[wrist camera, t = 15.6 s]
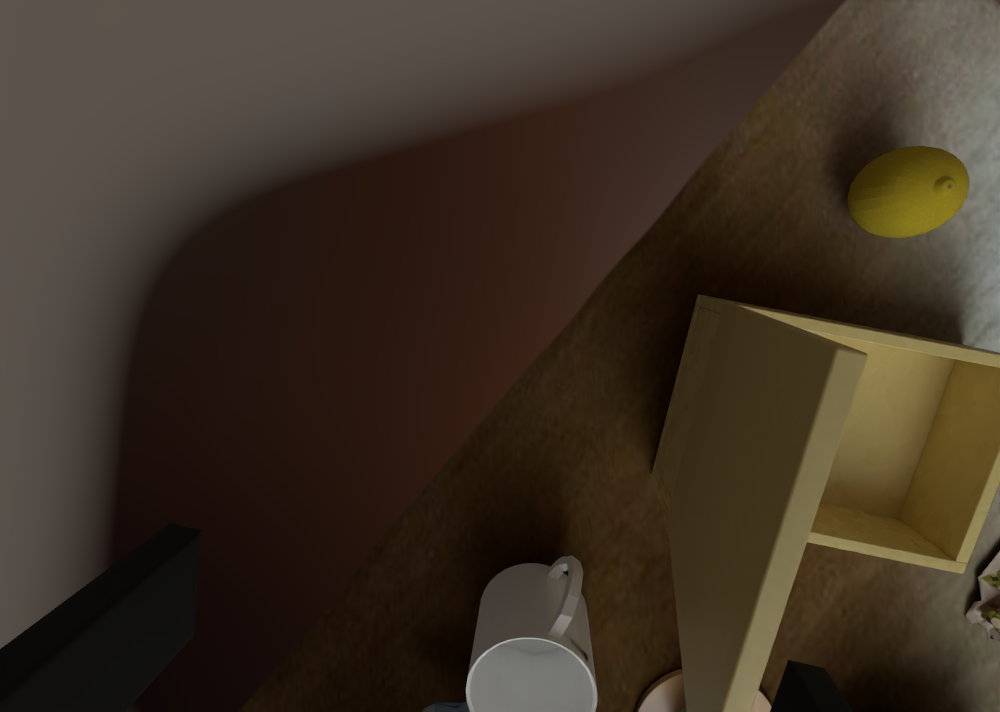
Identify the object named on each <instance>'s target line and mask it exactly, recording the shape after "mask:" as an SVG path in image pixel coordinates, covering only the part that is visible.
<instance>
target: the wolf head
mask: <svg viewBox="0 0 1000 712" xmlns="http://www.w3.org/2000/svg"><path fill="white" fill-rule="evenodd" d="M422 712H470V710H469V707H468V703H467V701H466V702H463V703H436V704H432V705H430V706H428V707H427V708H425V709H424V710H423V711H422Z"/></svg>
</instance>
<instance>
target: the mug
mask: <svg viewBox="0 0 1000 712" xmlns="http://www.w3.org/2000/svg"><path fill="white" fill-rule="evenodd" d="M567 570H568V576H567V575H566V574H564V573H563V572H564V571H567ZM582 580H583V569H582V566H581V562H580V561H578V560H577V559H576V558H575V557H573V556H572V555H571V556H568V557H565V556H562V557H561V558H559V559H558V560H557V561H555V562H554V563H553V564H552V566H548V565H544V564H538V563H524V564H519V565H515V566H512V567H510V568H507V569H505V570H503V571H502V572H500V573H499V574H497V575H496V576H495V577H494V578H493V579H492V580H491V581H490V582H489V584H488V585H487V587H486V588H485V590H484V592H483V595H482V598H481V603H480V609H479V614H478V620H477V626H476V632H475V637H474V643H473V649H472V655H471V660H470V666H469V672H468V678H467V684H466V700H467V703H468V707H469V710H470V712H595V710H596V705H597V687H596V680H595V672H594V664H593V656H592V648H591V640H590V632H589V624H588V616H587V608H586V604H585V600H584V597H583V595H582V593H581V588H582Z"/></svg>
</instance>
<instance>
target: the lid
mask: <svg viewBox="0 0 1000 712" xmlns="http://www.w3.org/2000/svg"><path fill="white" fill-rule="evenodd" d="M867 358H868V354H867V353H865V352H862V351H860V350H857V349H854V348H852V347H849V346H846V345H844V344H841V343H838V342H835V341H833V340H830V339H827V338H825V337H822V336H819V335H817V334H814V333H811V332H809V331H806V330H803V329H800V328H798V327H795V326H792V325H790V324H787V323H784V322H782V321H779V320H776V319H774V318H771V317H768V316H766V315H763V314H760V313H757V312H755V311H752V310H749V309H747V308H744V307H741V306H739V305H736V304H731V303H726V302H725V303H724V304H723V308H722V311H721V315H720V319H719V323H718V326H717V330H716V334H715V338H714V341H713V345H712V349H711V352H710V356H709V360H708V364H707V367H706V371H705V375H704V378H703V382H702V386H701V390H700V393H699V397H698V401H697V404H696V408H695V412H694V416H693V419H692V423H691V427H690V430H689V434H688V438H687V442H686V445H685V449H684V453H683V456H682V460H681V464H680V468H679V471H678V475H677V479H676V482H675V486H674V490H673V494H672V497H671V501H670V505H669V509H668V512H667V523H668V533H669V543H670V552H671V562H672V572H673V582H674V592H675V602H676V612H677V622H678V631H679V641H680V651H681V661H682V671H683V681H684V691H685V701H686V710H687V712H751V710H752V707H753V704H754V701H755V698H756V695H757V692H758V689H759V686H760V683H761V680H762V677H763V673H764V670H765V667H766V664H767V661H768V658H769V655H770V652H771V649H772V646H773V643H774V640H775V637H776V634H777V631H778V628H779V625H780V622H781V619H782V616H783V613H784V610H785V607H786V604H787V601H788V598H789V595H790V592H791V589H792V585H793V582H794V579H795V576H796V573H797V570H798V567H799V564H800V561H801V558H802V555H803V552H804V549H805V546H806V543H807V540H808V537H809V534H810V531H811V528H812V525H813V522H814V519H815V516H816V513H817V510H818V507H819V504H820V500H821V497H822V494H823V491H824V488H825V485H826V482H827V479H828V476H829V473H830V470H831V467H832V464H833V461H834V458H835V455H836V452H837V449H838V446H839V443H840V440H841V437H842V434H843V431H844V428H845V425H846V422H847V419H848V415H849V412H850V409H851V406H852V403H853V400H854V397H855V394H856V391H857V388H858V385H859V382H860V379H861V376H862V373H863V370H864V367H865V364H866V361H867Z"/></svg>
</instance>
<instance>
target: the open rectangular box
mask: <svg viewBox="0 0 1000 712" xmlns="http://www.w3.org/2000/svg"><path fill="white" fill-rule="evenodd" d="M725 302H726V303H731V304H736V305H739V306H741V307H744V308H747V309H749V310H752V311H755V312H757V313H760V314H763V315H766V316H768V317H771V318H774V319H776V320H779V321H782V322H784V323H787V324H790V325H792V326H795V327H798V328H800V329H803V330H806V331H809V332H811V333H814V334H817V335H819V336H822V337H825V338H827V339H830V340H833V341H835V342H838V343H841V344H844V345H846V346H849V347H852V348H854V349H857V350H860V351H862V352H865V353H867V354H868V358H867V361H866V364H865V367H864V370H863V373H862V376H861V379H860V382H859V385H858V388H857V391H856V394H855V397H854V400H853V403H852V406H851V409H850V412H849V415H848V419H847V422H846V425H845V428H844V431H843V434H842V437H841V440H840V443H839V446H838V449H837V452H836V455H835V458H834V461H833V464H832V467H831V470H830V473H829V476H828V479H827V482H826V485H825V488H824V491H823V494H822V497H821V500H820V504H819V507H818V510H817V513H816V516H815V519H814V522H813V525H812V528H811V531H810V534H809V537H808V540H807V542H810V543H815V544H819V545H824V546H829V547H834V548H839V549H844V550H849V551H853V552H858V553H863V554H868V555H873V556H878V557H883V558H887V559H892V560H897V561H902V562H907V563H912V564H917V565H921V566H926V567H931V568H936V569H941V570H946V571H951V572H955V573H960V574H964V571H965V569H966V566H967V563H968V561H969V559H970V556H971V554H972V551H973V549H974V546H975V544H976V541H977V539H978V536H979V534H980V531H981V529H982V526H983V523H984V521H985V518H986V516H987V513H988V511H989V508H990V506H991V503H992V501H993V498H994V496H995V493H996V491H997V488H998V486H999V483H1000V353H998V352H994V351H989V350H985V349H980V348H976V347H971V346H967V345H962V344H957V343H952V342H946V341H941V340H936V339H931V338H925V337H920V336H915V335H910V334H904V333H899V332H894V331H889V330H883V329H878V328H873V327H867V326H862V325H857V324H852V323H846V322H841V321H836V320H831V319H825V318H820V317H815V316H810V315H804V314H799V313H794V312H789V311H783V310H778V309H773V308H768V307H762V306H757V305H752V304H747V303H741V302H736V301H731V300H725V299H720V298H715V297H710V296H704V295H699V294H698V296H697V300H696V304H695V307H694V311H693V315H692V319H691V323H690V327H689V331H688V335H687V338H686V342H685V346H684V350H683V354H682V358H681V362H680V365H679V369H678V373H677V377H676V381H675V385H674V389H673V393H672V396H671V400H670V404H669V408H668V412H667V416H666V420H665V424H664V427H663V431H662V435H661V439H660V443H659V447H658V451H657V454H656V458H655V462H654V466H653V470H652V476H653V478H654V480H655V482H656V484H657V486H658V488H659V490H660V492H661V494H662V496H663V498H664V500H665V502H666V504H667V506H668V509H669V505H670V501H671V497H672V494H673V490H674V486H675V482H676V479H677V475H678V471H679V468H680V464H681V460H682V456H683V453H684V449H685V445H686V442H687V438H688V434H689V430H690V427H691V423H692V419H693V416H694V412H695V408H696V404H697V401H698V397H699V393H700V390H701V386H702V382H703V378H704V375H705V371H706V367H707V364H708V360H709V356H710V352H711V349H712V345H713V341H714V338H715V334H716V330H717V326H718V323H719V319H720V315H721V311H722V308H723V304H724V303H725Z"/></svg>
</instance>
